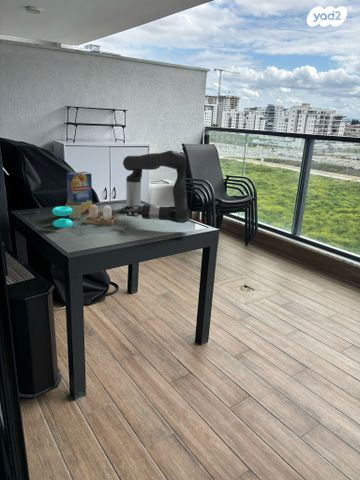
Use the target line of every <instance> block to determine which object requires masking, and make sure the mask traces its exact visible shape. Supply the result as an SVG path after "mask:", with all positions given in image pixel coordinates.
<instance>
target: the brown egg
mask: <svg viewBox="0 0 360 480" xmlns="http://www.w3.org/2000/svg"><path fill="white" fill-rule="evenodd" d="M88 215H89V219H95V220H97V219H98V216H99V208H98V206H97V205H96V204H94V203H92V205H90V207H89V212H88Z"/></svg>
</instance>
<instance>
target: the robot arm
mask: <svg viewBox="0 0 360 480" xmlns="http://www.w3.org/2000/svg"><path fill="white" fill-rule="evenodd" d="M186 158H187V157H186V155H185V154H184V153H182V152H179V151H176V150H167V151H164V152H160V153H159V152H156V153H155V152H154V153H153V152H151V153H146V154H141V155H127V156H126V157H124V158H123V160H122V166H123V168H124V169H125V170H127V171H129V172H130V171H131V172H132V173H130V174H128V175H127V176H126V180H125V181H126V184H125V185H126V196H125V198H126V205H125V206H124V209H120V210H119V215H126V217H135V218H136V217H139V216H141V218H142V219H143V220H155V221H159V220H160V221H170V222H173V223H178V224H184V223H185V224H186V223H187V222H188V221H189V220H190V217H191V216H190V212H189V209H188V203H187V202H188V198H187V197H188V196H187V187H186V181H187V180H186V175H187V159H186ZM161 167H166V168H169V169H172V170H173V169H174V170H175V171H176V180H175V182H174V185H173V188H172V196H173V203H174V206H173V207H174V209H172V208H171V207H168V206H159V205H150V204H143V205H141V204H142V203H141V202H142V201H141V200H142V194H141V193H142V190H141V189H142V177H143V170H146V171H147V170H148V171H151V170H157V169H159V168H161Z"/></svg>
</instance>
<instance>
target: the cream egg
mask: <svg viewBox="0 0 360 480" xmlns="http://www.w3.org/2000/svg"><path fill="white" fill-rule="evenodd" d="M112 214H113V213H112V207H111V206H110V205H105V206H103V207H102V216H103V220H106V221H112V217H113V215H112Z"/></svg>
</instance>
